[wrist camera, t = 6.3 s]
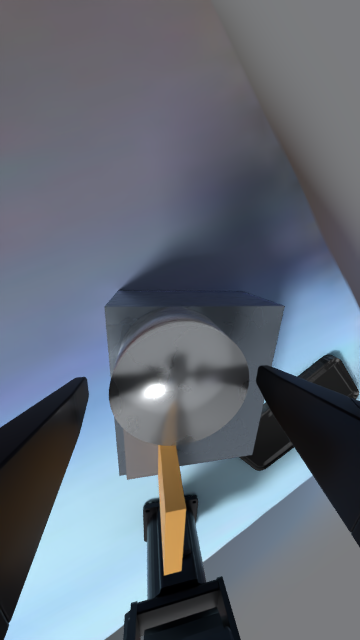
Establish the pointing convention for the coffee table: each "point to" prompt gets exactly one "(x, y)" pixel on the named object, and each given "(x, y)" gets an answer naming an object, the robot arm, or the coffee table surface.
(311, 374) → the phone
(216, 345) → the grey rounded piece
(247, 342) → the hitch block
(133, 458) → the grey orange block
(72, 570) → the coffee table surface
